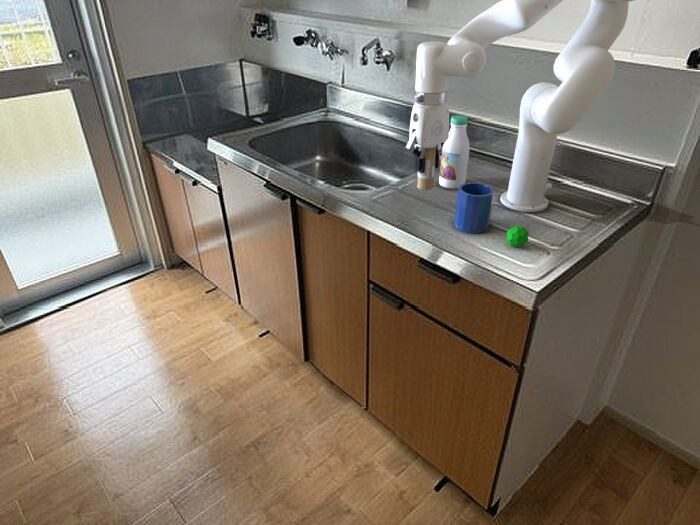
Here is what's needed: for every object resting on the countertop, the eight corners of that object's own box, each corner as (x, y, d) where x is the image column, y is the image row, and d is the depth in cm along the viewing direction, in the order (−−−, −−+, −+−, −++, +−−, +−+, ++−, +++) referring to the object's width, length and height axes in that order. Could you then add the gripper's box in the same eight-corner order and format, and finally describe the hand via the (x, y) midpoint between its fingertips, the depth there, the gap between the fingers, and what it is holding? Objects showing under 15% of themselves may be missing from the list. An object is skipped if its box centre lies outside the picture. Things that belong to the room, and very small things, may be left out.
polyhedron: (522, 240, 118) (526, 222, 116) (529, 250, 114) (533, 232, 112) (502, 240, 118) (505, 222, 116) (508, 250, 114) (511, 232, 112)
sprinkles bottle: (437, 188, 131) (441, 138, 124) (424, 192, 129) (427, 142, 122) (426, 182, 134) (428, 134, 127) (413, 186, 132) (415, 137, 125)
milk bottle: (456, 177, 151) (464, 112, 141) (469, 187, 145) (479, 119, 135) (434, 181, 149) (440, 114, 138) (447, 191, 143) (454, 122, 132)
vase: (469, 215, 130) (474, 179, 124) (494, 227, 124) (501, 190, 119) (447, 224, 125) (451, 187, 120) (472, 237, 120) (478, 199, 114)
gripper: (416, 107, 112) (413, 181, 122) (465, 94, 121) (459, 165, 131) (394, 101, 117) (392, 173, 127) (443, 89, 126) (438, 157, 136)
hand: (426, 168), depth 129 cm, fingers closed on sprinkles bottle, 4 cm apart
